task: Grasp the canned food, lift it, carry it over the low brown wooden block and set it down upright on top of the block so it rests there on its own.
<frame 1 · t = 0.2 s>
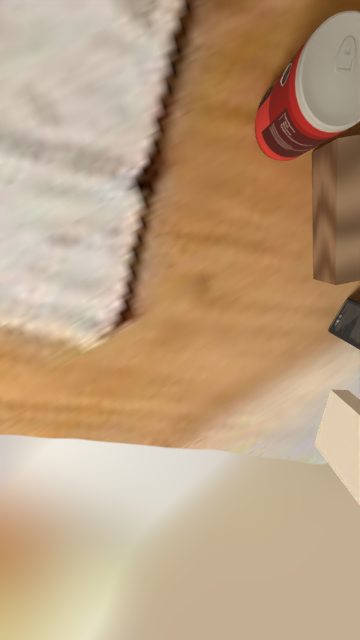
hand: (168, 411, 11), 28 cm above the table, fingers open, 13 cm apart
canned food: (282, 126, 32), on the table
box: (355, 323, 41), on the table
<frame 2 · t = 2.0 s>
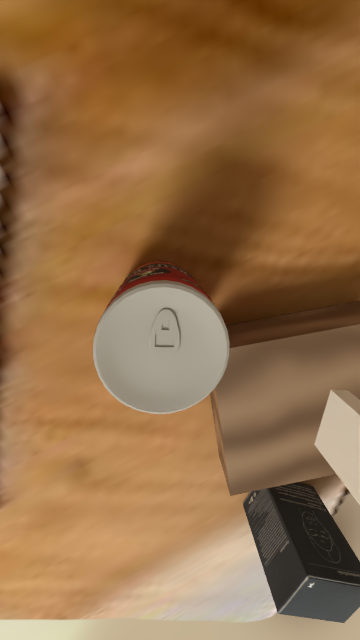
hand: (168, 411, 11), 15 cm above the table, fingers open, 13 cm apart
brown wooden block: (283, 384, 29), on the table
canned food: (159, 303, 25), on the table
box: (277, 493, 35), on the table
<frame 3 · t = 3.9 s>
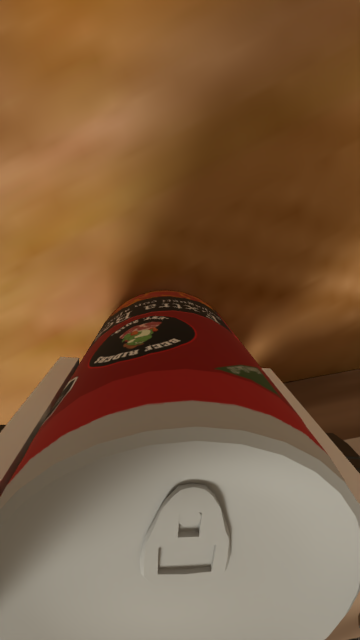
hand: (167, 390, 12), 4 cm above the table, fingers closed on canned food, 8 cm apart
brown wooden block: (349, 467, 19), on the table
canned food: (164, 353, 16), on the table, touching gripper
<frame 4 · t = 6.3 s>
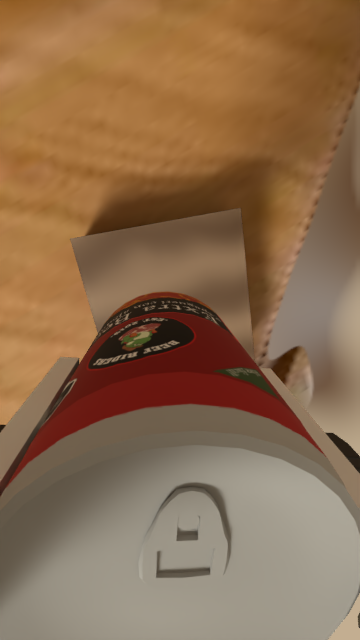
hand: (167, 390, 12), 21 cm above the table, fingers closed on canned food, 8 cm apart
brown wooden block: (169, 294, 32), on the table
canned food: (164, 354, 16), point 17 cm above the table, touching gripper
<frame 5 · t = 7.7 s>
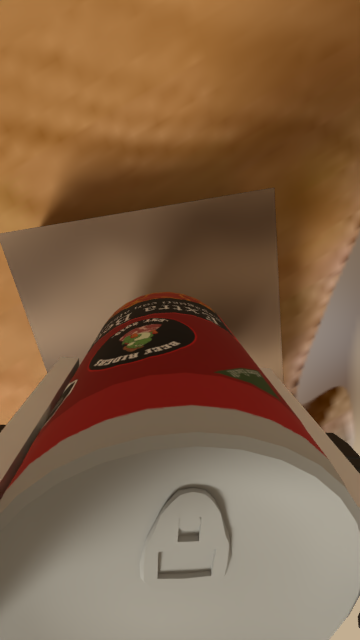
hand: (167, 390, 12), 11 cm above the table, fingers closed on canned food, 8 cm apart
brown wooden block: (161, 316, 23), on the table
canned food: (164, 355, 16), point 7 cm above the table, touching gripper
when the fingers open (10 cm above the table, at t = 8.7 s): canned food stays where it is, resting on brown wooden block.
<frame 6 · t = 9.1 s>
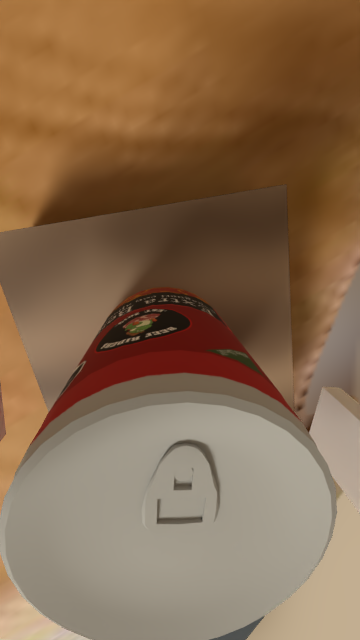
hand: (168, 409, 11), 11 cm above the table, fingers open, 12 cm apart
brown wooden block: (162, 323, 21), on the table
canned food: (163, 347, 17), point 5 cm above the table, touching brown wooden block
box: (179, 478, 26), on the table
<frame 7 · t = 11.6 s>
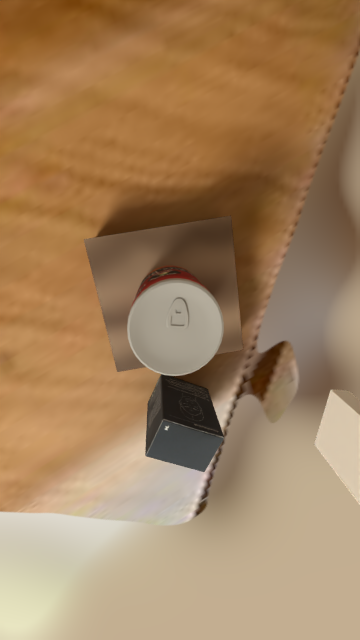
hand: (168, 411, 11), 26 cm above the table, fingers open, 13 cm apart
brown wooden block: (168, 291, 36), on the table
canned food: (170, 298, 31), point 5 cm above the table, touching brown wooden block
box: (178, 395, 41), on the table
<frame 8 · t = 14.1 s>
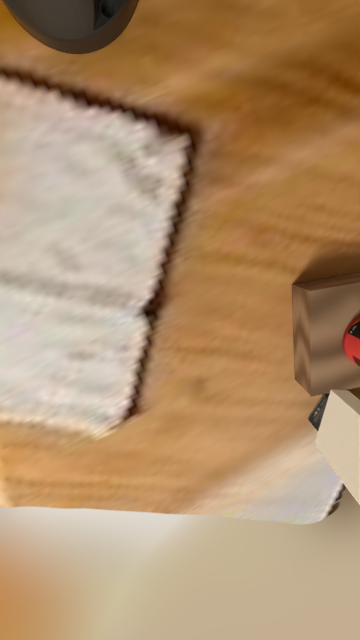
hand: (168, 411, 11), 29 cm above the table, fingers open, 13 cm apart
brown wooden block: (342, 325, 42), on the table
box: (332, 411, 47), on the table
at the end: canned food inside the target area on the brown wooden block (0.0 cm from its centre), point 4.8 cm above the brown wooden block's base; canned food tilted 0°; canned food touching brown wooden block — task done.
